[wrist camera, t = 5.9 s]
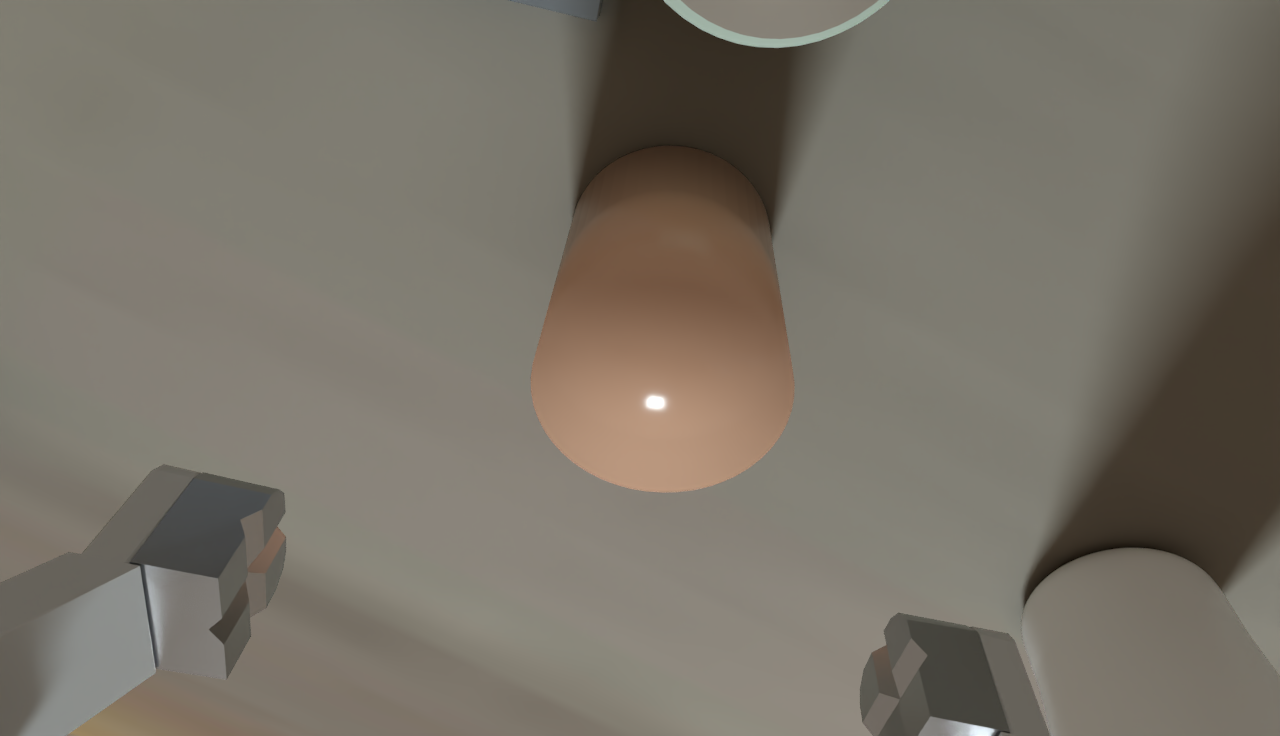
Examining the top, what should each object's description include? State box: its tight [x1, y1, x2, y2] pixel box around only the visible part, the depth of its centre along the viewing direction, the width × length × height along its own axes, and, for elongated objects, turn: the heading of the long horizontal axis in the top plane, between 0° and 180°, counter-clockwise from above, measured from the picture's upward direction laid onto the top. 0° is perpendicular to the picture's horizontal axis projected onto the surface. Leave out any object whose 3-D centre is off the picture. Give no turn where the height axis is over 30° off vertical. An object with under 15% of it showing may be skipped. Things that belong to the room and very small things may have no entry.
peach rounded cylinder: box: [531, 146, 794, 492], centre depth 18 cm, size 5×5×6 cm
